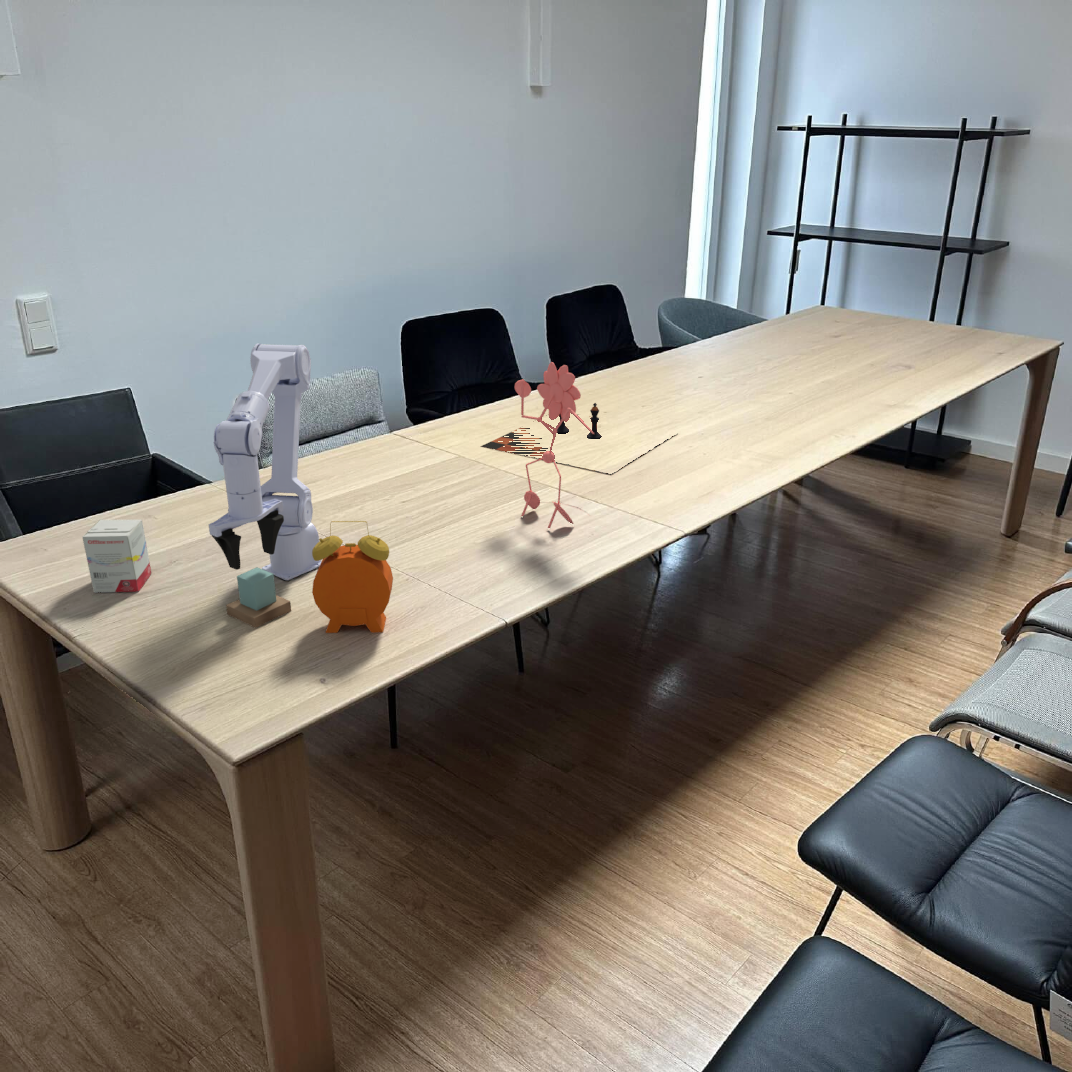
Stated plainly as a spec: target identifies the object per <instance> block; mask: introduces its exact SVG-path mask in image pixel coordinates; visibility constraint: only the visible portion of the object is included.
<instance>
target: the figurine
mask: <svg viewBox="0 0 1072 1072" xmlns="http://www.w3.org/2000/svg"><path fill="white" fill-rule="evenodd" d="M557 369H558V368H557V366H556V365H555V363H554V362H552V361H551V362H550V363H549V364H548V367H547V370H545V371H544V372H543V382H544V383H540V384H538V385H537V387H536V389H537V392H538V394H539V396H540V397H541V398H542V399H543V401H542V406H543V410H542V412H541V414H540V415H539V417H538V416H537V417H535V416H529V415H525V414H524V413H525V412H524V408H525V407H524V405H525V401H524V400H525V398H527V397H529V396H530V395H531V393H532V388H531V386H530V384H529V383H528V382H527V381H525V379H524V378H523V379H520V380H517V381H516V382H515V383H514V390H515V392H516V393H517V394H518V396H519V397H520V399H521V407H520V411H521V412H520V415H521V418H523V419H529V420H534V421H536V420H537V421H538V422H541V423H542V424H543V425H544V426H545V427H546V428H547V429H548V430H549V431H550V432H551V433H552V434H553V439H552V443H551V447H550V451H546V452H544V454H543V456H542V458H541V459H535V460H533V461H531V462H528V463H526V464H525V468H526V469H525V470H526V474H527V475H526V476H527V480H528V481H527V482H528V487H529V490H527V491H525V493H524V495H523V500H524V502H525V505H524V508H523V510H522V513H521V515H520V517H521V516H524V517H525V514H526V512H527V509H528V506H529V507H530V508H531V509H532V510H533V509H535V510H536V509H537V508H538V507H540V505H541V502H540V501H541V499H540V497H539V496H538V494H537V493H536V492H534V491H533V490H532V486H531V485H532V484H531V481H530V480H531V479H530V472H529V467H528V466H529V465H532V464H534V463H537V462H540V461H543V462H544V463H546V464H551V463H553V462H554V463H553V464H554V467H555V469H556V472H557V474H558V476H559V478H558V479H559V482H558V498H557V502H558V503H556V501H553V506H554V507H555V508H554V511H553V513H552V516H551V518H550V521H549V524H548V526H547V528H550V529H551V527H552V525H553V522H554V520H555V516H556V514H557V512H558V513H559V514H560V515H561V516H562V517H563V518H564V520H566V521H567V522H568V523H569V522H570V523H572V524H574V521H573V520H572V518H571V516H570V515H569V514H568V513H567V511H566V510H564V508H563V507H562V506H561V503H560V502H561V487H562V475H561V473H560V471H559V467H558V464H557V463H555V460H554V459H555V455H554V453H553V452H552V451H551V450H552V446H553V443H554V440H555V437H556V433H557V429H558V428H559V426H560V425H561V423H562V422H563V420H564V421H565V422H567V421H568V420H569V418H570V413H571V414H573V415H574V416H575V417H576V418H577V419H578V420H579V421H580V422H581V423H582V424H583V425H584V426H585V427H586V428H587V429H588V430H589V431H590V432H591V433H592V434H594V432H593V431H592V430H591V429H590V428H589V427H588V426H587V425H586V424H585V423H584V421H583V420H582V419H581V418H580V417H579V416H578V415H579V414H577V413H576V412H577V405H576V402H575V401H578V400H579V399H581V395H582V394H581V392H580V390H579V388H578V387H577V386H575V385H574V384H575V382H576V376H575V375H574V374H573V373H572V372H569V366H568V365H566V364H563V365H562V366H560V367H559V369H558V370H557ZM547 411H548V415H549V418H550V419H551V420H554V419H556V418H557V417H558V416H559V414H561V417H562V419H561V420H560V422H559V423H558V425H557V426H556V428H554V427H552V426H551V425H549V424H547V423H545V422H544V421H542V417H544V416H545V414H546V412H547ZM549 427H550V428H551V429H553V431H552V430H551V429H550V428H549ZM570 523H569V524H570Z"/></svg>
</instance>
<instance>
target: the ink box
mask: <svg viewBox="0 0 1072 1072" xmlns="http://www.w3.org/2000/svg"><path fill="white" fill-rule="evenodd" d="M144 529H145V528H144V523H143V519H99V520H98V521H96V522H95V523H94V524H92V526H91V527H90V529H89V530H87V531H86V532H85V533H84V534H83V535H82V536H81V537H82V543H83V547H84V551H85V556H86V561H87V566H88V571H89V575H90V580H91V586H92V590H93V593H95V594H97V593H98V592H99V594H100V592H101V593H129V592H131V593H132V592H134V593H135V592H137V593H139V592H140V591H141V590H142V588H143V587H144V585H145V584H146V583H147V581H148V580H149V579H150V576H151V575H152V568H151V562H150V558H149V552H148V545H147V540H146V534H145V530H144ZM147 579H148V580H147Z"/></svg>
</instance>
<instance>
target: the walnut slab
mask: <svg viewBox="0 0 1072 1072" xmlns="http://www.w3.org/2000/svg"><path fill="white" fill-rule="evenodd" d="M225 606H226V607H225V608H226V614H227V615H228V616H230V617H232V618H234V619H236V620H238V621H241V622H242V623H244V624H246V625H249V626H251V627H253V628H258V627H260V626H263V625H266V623H269V622H271V621H273V620H276V619H277V618H279V617H281V616H284V615H286V614H289V613H290V612H292V604H291V600H288V599H287V598H284V597H282V596H279V595H278V594H276V602H274V603H272V604H269V605H267V606H265V607H263V608H261V609H259V610H257V611H256V610H254V609H252V608H250V607H247V606H245V605H243V604H241V603H240V598H238V599H236V600H234V601H232V602H230V603H227V604H225Z"/></svg>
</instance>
